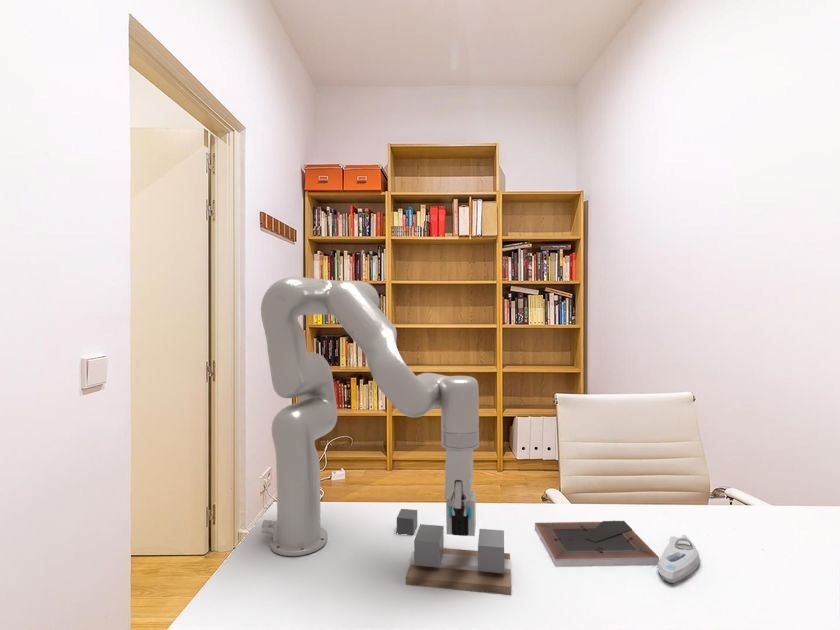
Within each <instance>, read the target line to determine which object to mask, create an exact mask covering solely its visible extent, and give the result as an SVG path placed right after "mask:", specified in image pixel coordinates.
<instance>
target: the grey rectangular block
mask: <svg viewBox="0 0 840 630" xmlns="http://www.w3.org/2000/svg"><path fill="white" fill-rule="evenodd" d="M417 528H418V509H408V508H401V509H400V510H399V512H398V514H397V516H396V534H397V533H398V534H397V535H401V534H407V535H406V536H413V535H415V534H416V533H415V532H416V531H417ZM415 530H416V531H415Z"/></svg>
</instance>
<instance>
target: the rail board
mask: <svg viewBox="0 0 840 630" xmlns="http://www.w3.org/2000/svg"><path fill="white" fill-rule="evenodd" d="M511 566H512V565H511V553H507V552H504V573H494V572H483V571H478V550H473V549H471V550H470V549H460V548H448V547H447V548H446V547H444V550H443V554H442V559H441V563H440V567H427V566H416V565H414V550H413V551H412V553H411V555H410V559H409V566H408V568H407V569H408V570H407V572H406V575H405V585H407V586H418V587H425V588H426V587H429V588H438V589H448V590H449V589H450V590H457V591H458V590H460V591H469V592H478V593H488V594H500V595H510V596H511V595H512V575H511V572H512V571H511V569H512V568H511Z"/></svg>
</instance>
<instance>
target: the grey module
mask: <svg viewBox="0 0 840 630" xmlns="http://www.w3.org/2000/svg"><path fill="white" fill-rule="evenodd" d="M452 499H453V495H452V497H451V500H448V501H447V500H446V499H445V500H446V501H445V511H446V512H445V515H446V516H445V517H446V520H445V522H446V531H445V532H446V535H452V536H454V535H453V534H452ZM462 499H465V496H462ZM476 505H477V504H476V491H471V495H470V500H468V501H467V515H468V536H469V537H475V536H476V535H475V534H476V526H477V525H476V523H477V521H476V519H477V518H476V513H477V512H476ZM462 506H463V507H464V503H462ZM468 536H467V537H468Z"/></svg>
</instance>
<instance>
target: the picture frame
mask: <svg viewBox="0 0 840 630" xmlns="http://www.w3.org/2000/svg"><path fill="white" fill-rule="evenodd" d="M534 530H535V532H536V534H537V536H538V537H539V539H540V541H541V543H542V545H543V547H544V548H545V550H546V552H547V554H548V556H549V558H550V559H551V561H552V563H553V564H554V565H553V566H554V567H555V568H556V567H557V568H558V567H611V566H613V567H615V566H616V567H618V566H619V567H620V566H622V567H623V566H624V567H625V566H627V567H628V566H630V567H631V566H657V564H658V561H659V560H660V557H659V555H658V554H656V552H655V551H653V549H651V548H650V547H649V545H648V544H647V543H646V542H645V541H644V540H643V539H642V538H641V537H640V536H639V535H638V534H637V533H636V532H635V530H633V528H632V527H631V526H630V525H629V523H627V522H626V521H625V520H602V521H572V522H570V521H568V522H565V521H564V522H563V521H562V522H561V521H560V522H534Z"/></svg>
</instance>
